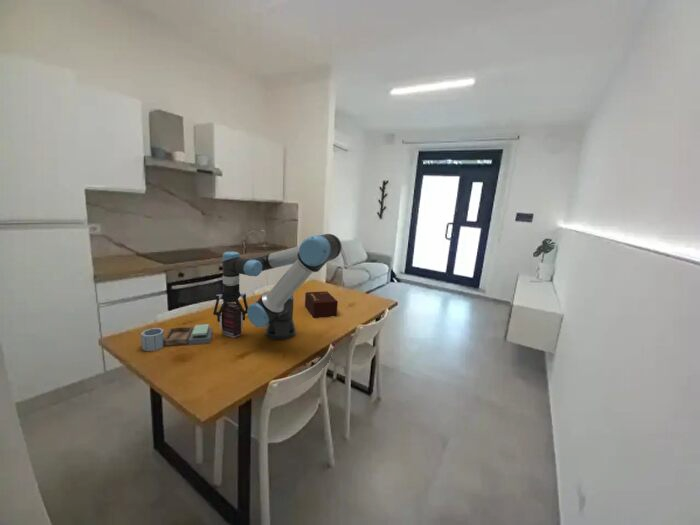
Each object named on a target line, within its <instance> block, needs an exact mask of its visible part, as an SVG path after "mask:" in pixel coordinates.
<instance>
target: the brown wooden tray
mask: <svg viewBox="0 0 700 525" xmlns="http://www.w3.org/2000/svg"><path fill="white" fill-rule="evenodd" d="M192 329H194V326H180V327H170V329H169V330H168V332H167V334H166V336H164V347H177V346H189V345H188V339H189V337H190V334H191V332H192ZM164 347H163V348H164Z"/></svg>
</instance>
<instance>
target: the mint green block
mask: <svg viewBox="0 0 700 525" xmlns="http://www.w3.org/2000/svg"><path fill="white" fill-rule="evenodd" d="M208 328H210V323H209V324H208V323H207V324H204V323H203V324H195V325H194V327H193V329H194V330H193V333H192V336H197V335H198V336H199V335H207V332H208Z"/></svg>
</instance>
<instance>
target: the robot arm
mask: <svg viewBox="0 0 700 525" xmlns="http://www.w3.org/2000/svg"><path fill="white" fill-rule="evenodd" d="M342 249H343V248H342V242H341V240H340V238H338V237H337V235H334V234H333V233H332V234H331V233H324V234H318V235H317V234H316V235H311V236H309V237H307V238H305V239H304V240H303V241H302V242H301V243H300V245H299V246H295V247H291V248H287V249H283V250H279V251H276V252H271V253H267V254H264V255H259V256H255V257H250V258H243V257H241V255H240V252H238V251H225V252H223V253H222V258H221V259H222V260H221V263H222V294H218V293H216V296H215V299H216V301H215V303H214V304H215V305H214V310H213V312H212V313H213V315H214V316H216V317H217V318H216V320H217V323H219V329H221V330H222V311H223V309H224V307H225V305H226V303H227V302H228V303H230V302H231V303H235V304H237V305H241V328H243V327H244V325H243V324H244V321H246V314H247V318H248V321H249V322H250V323H251V324H252V325H254V327H257V328H264V327H265V336H266V337H267V338H269V339H271V340H275V341H277V340H278V341H283V340H288V339H291V338H293V337H295V335H296V334H297V333H296V332H297V330H296V326H295V322H294V320H293V318H294V317H293V316H294V301H295V299H294V294H295V293H296V291H297V290H299V288H300V287H301V286H302V285H303V284H304V282H305V281H307V279H308V278H309V277H310V276H311V275H312V273H317V272H319V271H320V270H321V269H322V268H323V267H324V266H325V265H326V264H327V263H328V262H329V261H332V260H333V261H334V260H335V259H337V258H338V257H339V255H340V254H341V252H342ZM288 265H291V266H290V267H289V268H288V269H287V271H286V272H285V273H284V274H283V275H282V276H281V278H280V279H279V280H278V281H277V282H276V284H275V285H274V286H273V287H272V288H271V290H270V291H265V292H264V293H263V294H261V296H260V297H259V298H258V300H257V301H255V302H252V303H251V304H249V305H248V302H247V293H241V292H240V275H244V276H248V277H257V276H259V275H260V274H261V273H262V272H264V271H268V270H272V269H276V268H281V267H285V266H288ZM240 297H241V298H242V300H243V305H244V307H243V306H242V303H241V302H240V300H239V298H240ZM222 298H223V299H224V300H223V302H222V304H221V306H220V307H219V303H220V300H221V299H222ZM218 308H219V309H218ZM244 308H245V309H244Z"/></svg>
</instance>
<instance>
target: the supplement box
mask: <svg viewBox="0 0 700 525" xmlns="http://www.w3.org/2000/svg"><path fill="white" fill-rule="evenodd" d="M241 305H242V304H241ZM241 305H237V304H236V302H230V303H228V302H227V303H226V305H225V307H224V309H223V311H222V312H221V314H222V329H221V331H222V332H221V334H222V335H224V336H228V337H231V338H233V339H235V338H237V337H239V336H241V335H242V327H241V313H242V312H241Z"/></svg>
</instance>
